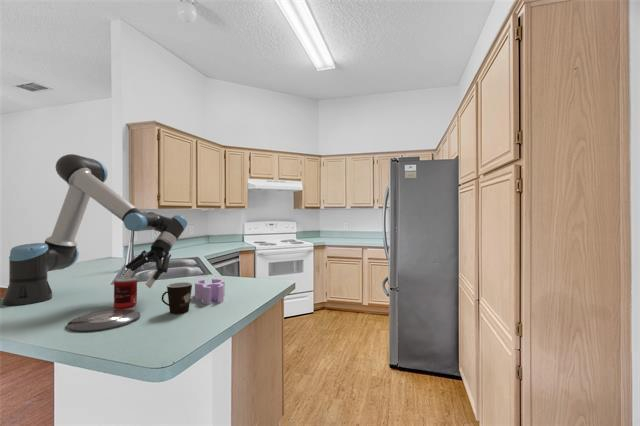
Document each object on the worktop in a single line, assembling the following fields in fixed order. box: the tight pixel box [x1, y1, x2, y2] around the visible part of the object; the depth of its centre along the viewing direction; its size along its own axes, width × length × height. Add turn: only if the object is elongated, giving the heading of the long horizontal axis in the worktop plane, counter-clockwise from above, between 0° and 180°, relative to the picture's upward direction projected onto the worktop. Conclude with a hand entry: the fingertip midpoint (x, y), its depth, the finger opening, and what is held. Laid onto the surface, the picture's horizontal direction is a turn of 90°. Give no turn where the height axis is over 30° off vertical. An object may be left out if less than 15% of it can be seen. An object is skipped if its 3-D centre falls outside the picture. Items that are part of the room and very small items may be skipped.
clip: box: [194, 277, 226, 305], centre depth 135 cm, size 20×12×7 cm, turn 28°
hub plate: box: [67, 309, 141, 333], centre depth 104 cm, size 20×20×1 cm
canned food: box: [113, 276, 138, 310], centre depth 121 cm, size 8×8×11 cm
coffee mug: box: [161, 281, 193, 315], centre depth 114 cm, size 12×9×10 cm
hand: (134, 284), depth 124 cm, fingers open, 13 cm apart
